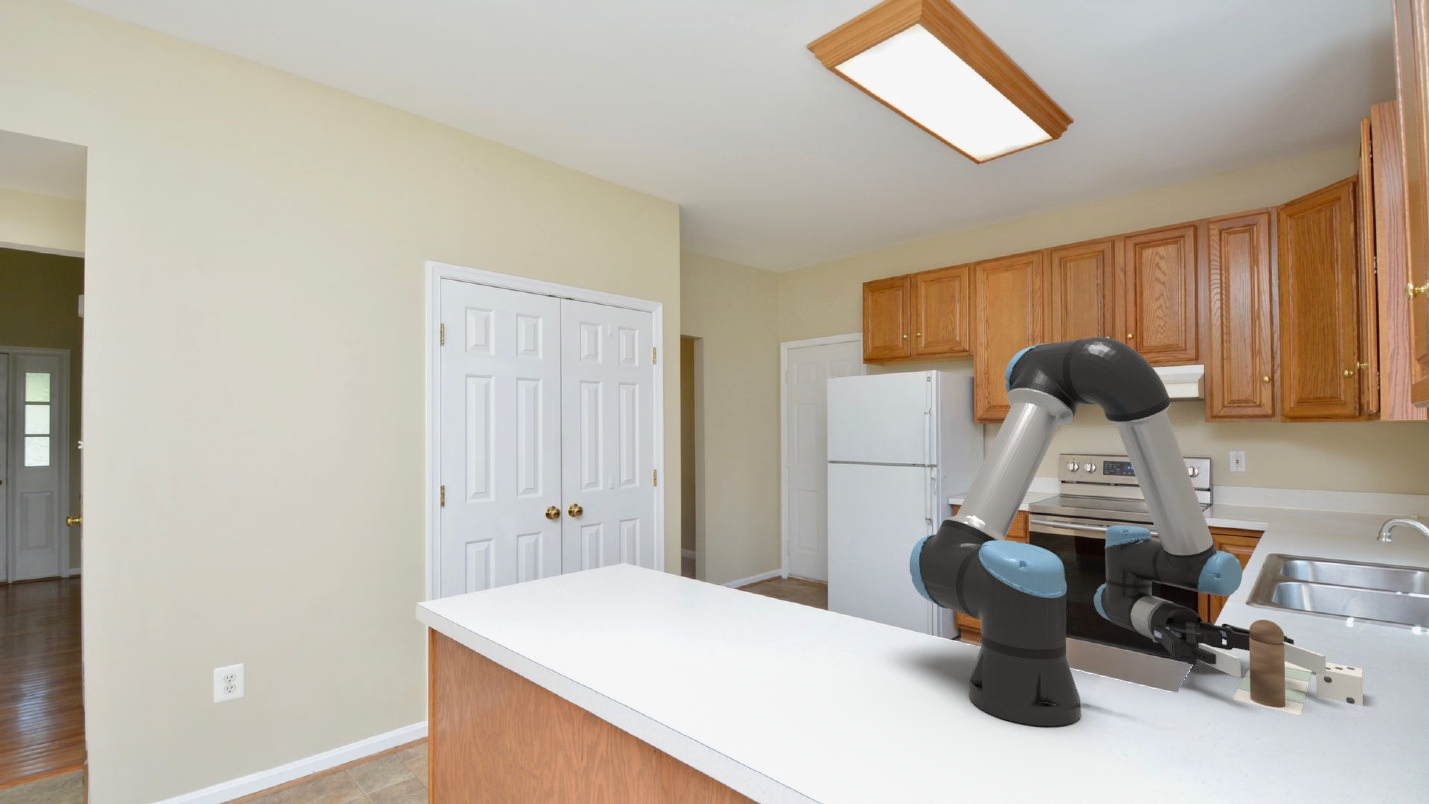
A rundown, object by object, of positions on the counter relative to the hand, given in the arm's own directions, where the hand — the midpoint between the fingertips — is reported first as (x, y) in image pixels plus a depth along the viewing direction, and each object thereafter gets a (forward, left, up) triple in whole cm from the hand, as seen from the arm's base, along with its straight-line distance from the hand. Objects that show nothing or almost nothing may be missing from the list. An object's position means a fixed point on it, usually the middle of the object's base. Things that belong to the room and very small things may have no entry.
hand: (1281, 666), depth 96 cm
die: (+6, +12, -7) cm, 15 cm away
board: (-2, +13, -7) cm, 15 cm away
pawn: (-2, +1, -6) cm, 6 cm away
